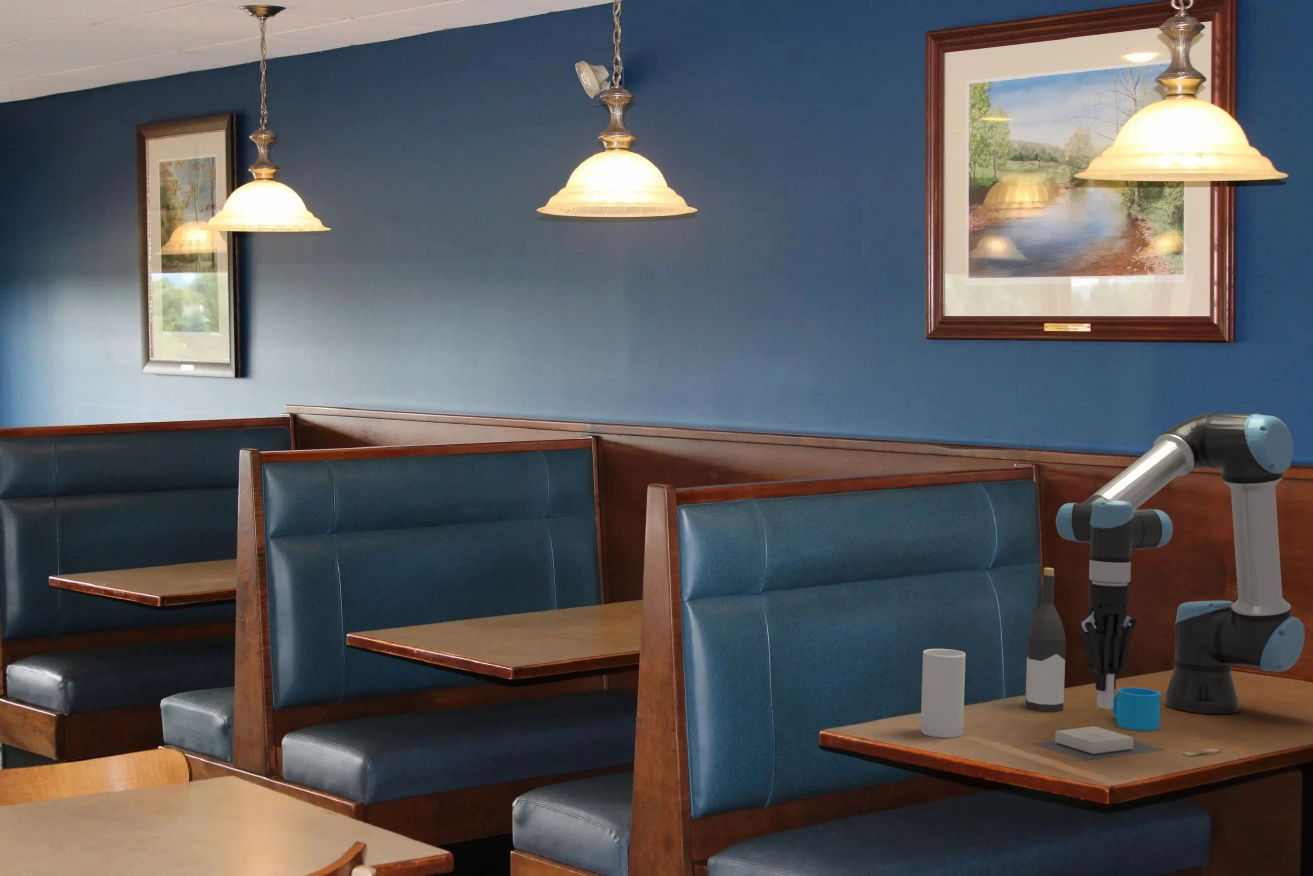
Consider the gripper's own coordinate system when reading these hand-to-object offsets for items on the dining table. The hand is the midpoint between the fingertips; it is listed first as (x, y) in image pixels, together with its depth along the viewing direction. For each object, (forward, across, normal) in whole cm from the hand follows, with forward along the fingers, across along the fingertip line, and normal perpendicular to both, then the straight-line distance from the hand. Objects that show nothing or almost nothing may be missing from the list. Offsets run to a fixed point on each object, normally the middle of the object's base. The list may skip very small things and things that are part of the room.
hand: (1104, 707), depth 295 cm
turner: (+9, -9, +12) cm, 17 cm away
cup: (+9, +18, -25) cm, 32 cm away
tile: (+6, -2, 0) cm, 7 cm away
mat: (+9, +1, 0) cm, 9 cm away
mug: (+9, -20, -12) cm, 25 cm away
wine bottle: (+9, -18, -35) cm, 40 cm away
